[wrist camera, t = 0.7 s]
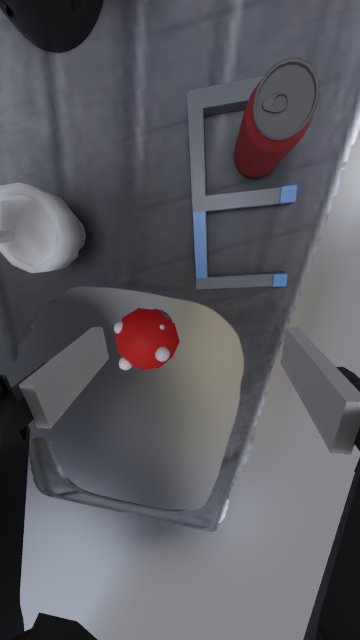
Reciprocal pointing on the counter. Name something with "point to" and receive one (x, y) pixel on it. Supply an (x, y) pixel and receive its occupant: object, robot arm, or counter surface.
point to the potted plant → (38, 229)
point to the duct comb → (214, 103)
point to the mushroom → (146, 339)
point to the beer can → (276, 116)
